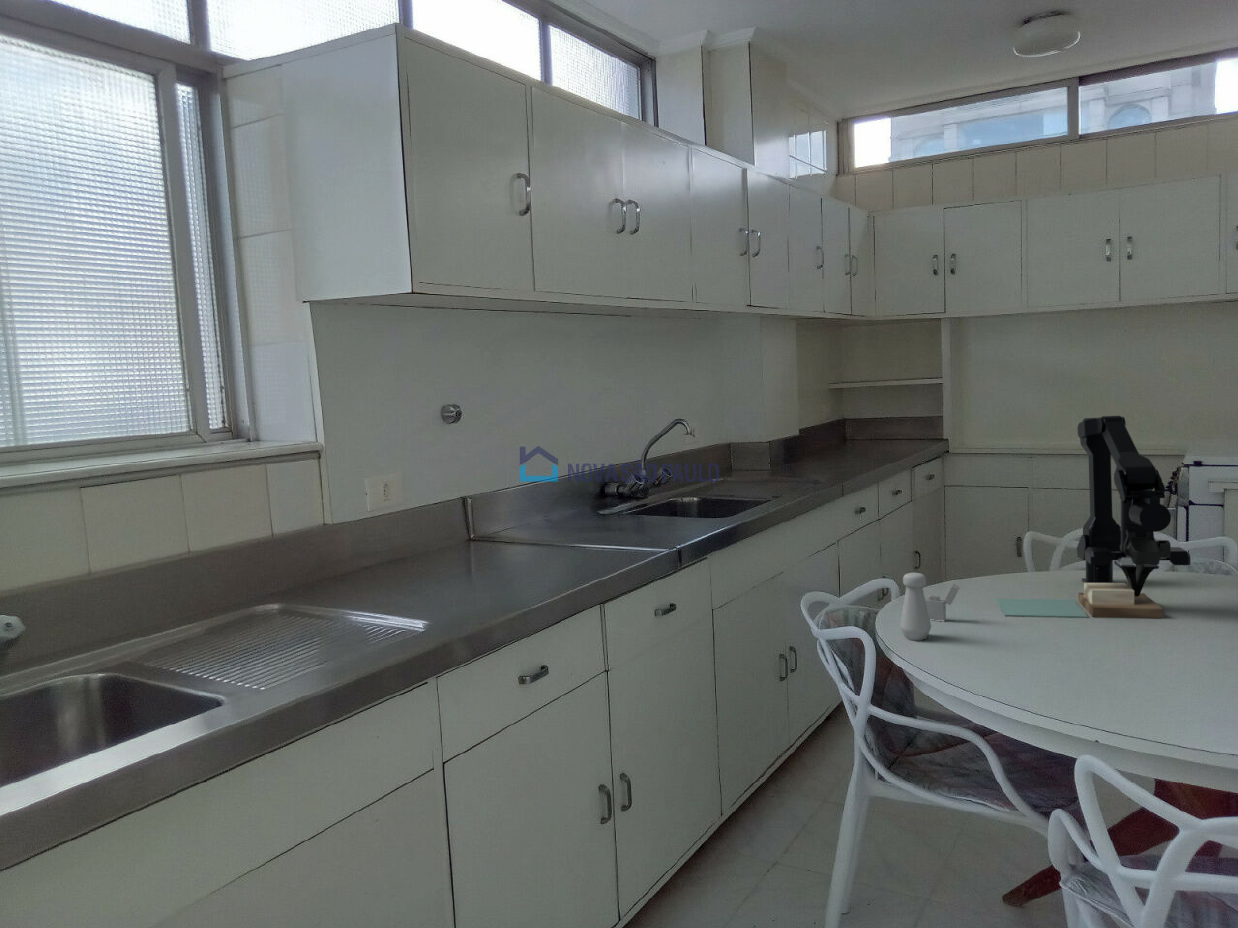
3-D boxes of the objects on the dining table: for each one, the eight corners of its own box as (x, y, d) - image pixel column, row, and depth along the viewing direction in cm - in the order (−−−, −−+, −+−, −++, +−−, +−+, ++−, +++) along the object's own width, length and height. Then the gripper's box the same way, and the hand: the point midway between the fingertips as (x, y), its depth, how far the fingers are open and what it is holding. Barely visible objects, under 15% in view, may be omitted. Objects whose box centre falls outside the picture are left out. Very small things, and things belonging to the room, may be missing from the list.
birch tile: (1083, 596, 196) (1083, 582, 195) (1124, 596, 194) (1124, 582, 193) (1092, 604, 189) (1091, 590, 189) (1134, 604, 187) (1134, 590, 187)
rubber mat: (996, 599, 204) (996, 598, 204) (1073, 600, 200) (1073, 599, 200) (1005, 616, 191) (1005, 614, 191) (1088, 617, 186) (1088, 616, 186)
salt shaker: (931, 634, 181) (930, 570, 179) (931, 642, 175) (930, 577, 174) (901, 632, 183) (899, 570, 181) (900, 641, 177) (898, 576, 176)
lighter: (924, 619, 191) (923, 583, 190) (926, 617, 192) (925, 581, 192) (958, 623, 187) (958, 585, 186) (960, 621, 189) (960, 584, 188)
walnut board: (1078, 601, 199) (1078, 592, 199) (1144, 602, 196) (1144, 593, 195) (1092, 617, 187) (1092, 607, 186) (1162, 618, 183) (1163, 608, 183)
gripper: (1097, 530, 183) (1097, 605, 185) (1200, 529, 178) (1200, 606, 180) (1084, 521, 194) (1084, 592, 195) (1181, 520, 189) (1180, 593, 190)
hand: (1136, 596), depth 190 cm, fingers closed
